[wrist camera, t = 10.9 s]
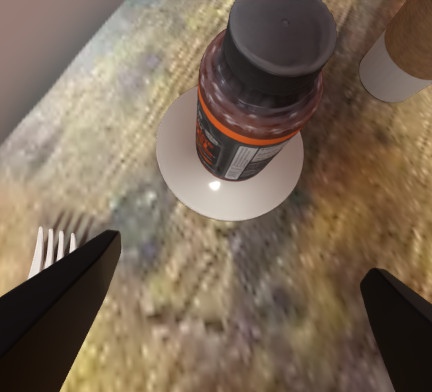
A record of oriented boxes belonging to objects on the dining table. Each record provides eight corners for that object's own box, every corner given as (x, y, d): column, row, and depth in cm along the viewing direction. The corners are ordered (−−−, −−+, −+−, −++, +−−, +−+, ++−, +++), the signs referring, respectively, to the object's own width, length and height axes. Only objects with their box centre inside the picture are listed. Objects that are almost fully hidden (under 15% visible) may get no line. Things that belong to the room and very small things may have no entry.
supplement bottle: (185, 125, 20) (177, -33, 9) (252, 107, 21) (324, -56, 10) (209, 194, 19) (235, 116, 8) (279, 172, 20) (393, 73, 9)
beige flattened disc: (199, 249, 19) (200, 249, 18) (133, 120, 21) (130, 113, 19) (323, 181, 21) (330, 177, 20) (254, 70, 23) (257, 61, 22)
